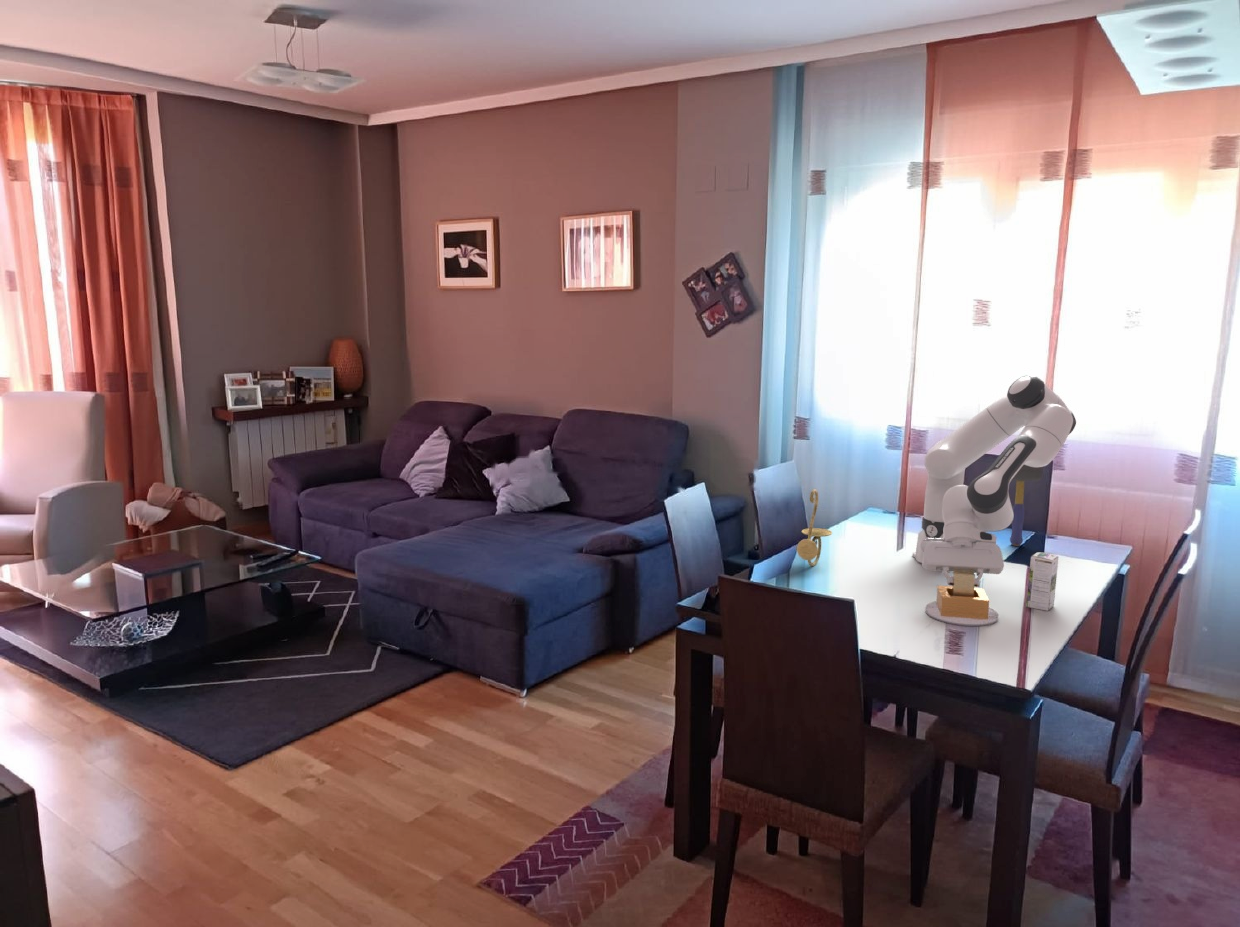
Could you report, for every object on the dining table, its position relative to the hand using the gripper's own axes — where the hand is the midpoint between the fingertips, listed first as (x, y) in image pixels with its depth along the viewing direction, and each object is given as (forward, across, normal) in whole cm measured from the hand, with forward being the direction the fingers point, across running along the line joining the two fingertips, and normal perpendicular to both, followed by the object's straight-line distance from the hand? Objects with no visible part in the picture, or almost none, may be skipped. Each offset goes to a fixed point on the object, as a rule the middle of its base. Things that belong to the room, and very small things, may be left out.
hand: (963, 585), depth 232 cm
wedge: (+4, 0, +4) cm, 6 cm away
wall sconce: (-21, -39, +33) cm, 56 cm away
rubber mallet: (-50, +28, +62) cm, 84 cm away
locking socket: (+6, 0, +6) cm, 8 cm away
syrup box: (-2, +22, +15) cm, 26 cm away
